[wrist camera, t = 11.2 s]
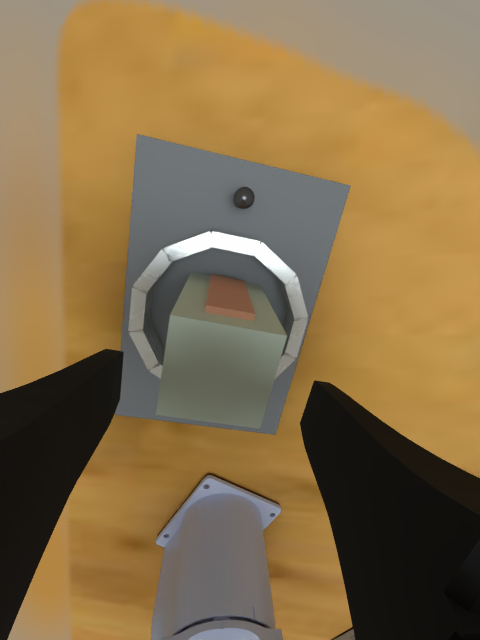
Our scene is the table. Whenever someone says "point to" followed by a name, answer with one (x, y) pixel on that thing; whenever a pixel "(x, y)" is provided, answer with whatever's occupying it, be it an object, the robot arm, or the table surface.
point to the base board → (221, 214)
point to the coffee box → (347, 636)
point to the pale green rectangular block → (220, 353)
